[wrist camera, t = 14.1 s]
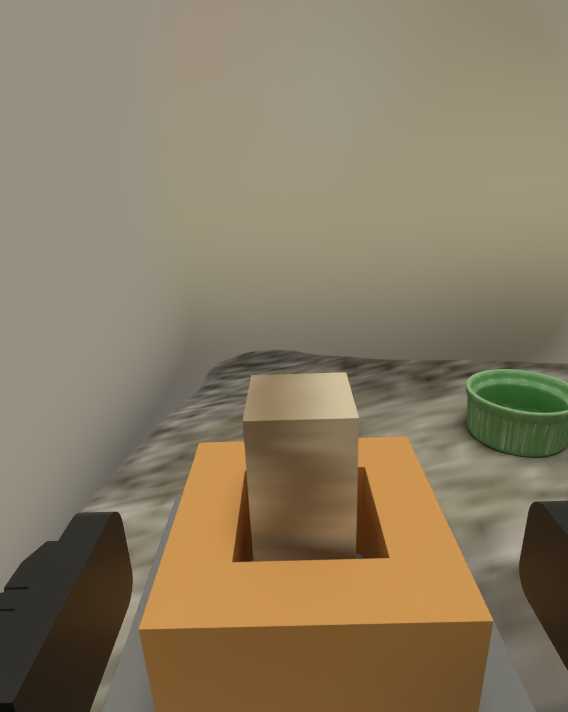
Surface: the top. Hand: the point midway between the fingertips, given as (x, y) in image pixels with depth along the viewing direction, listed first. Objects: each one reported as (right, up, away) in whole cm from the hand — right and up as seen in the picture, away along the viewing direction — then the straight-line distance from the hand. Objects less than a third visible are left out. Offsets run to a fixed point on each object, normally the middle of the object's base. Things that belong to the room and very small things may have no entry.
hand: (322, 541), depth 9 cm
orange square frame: (+1, -10, +16) cm, 19 cm away
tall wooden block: (0, -9, +15) cm, 18 cm away
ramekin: (+20, -3, +32) cm, 38 cm away
